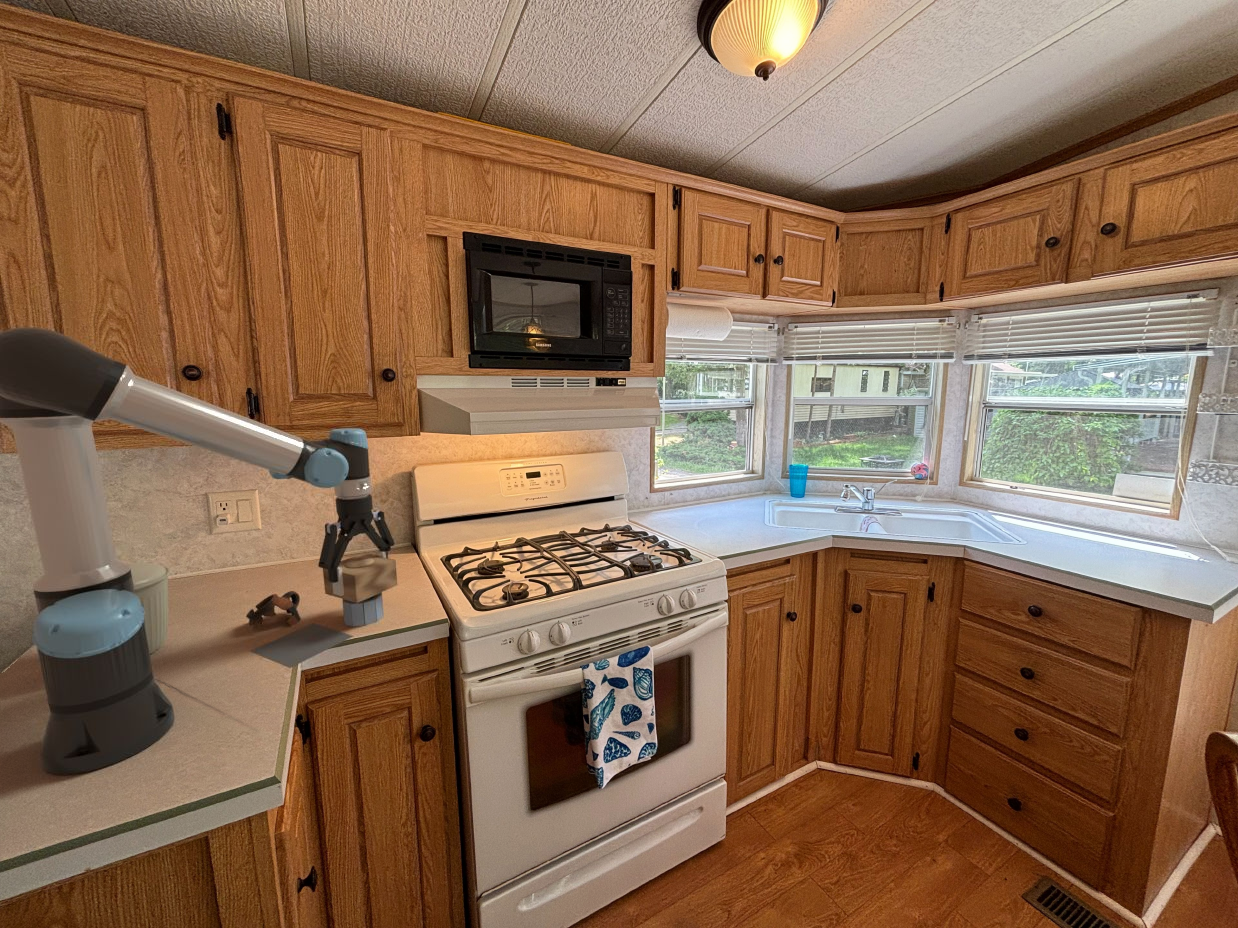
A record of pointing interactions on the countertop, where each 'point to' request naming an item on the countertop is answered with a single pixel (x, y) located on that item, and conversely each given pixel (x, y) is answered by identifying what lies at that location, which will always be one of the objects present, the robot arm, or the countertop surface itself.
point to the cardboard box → (364, 577)
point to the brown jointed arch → (282, 602)
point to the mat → (301, 644)
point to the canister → (152, 599)
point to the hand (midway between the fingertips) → (361, 585)
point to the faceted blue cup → (363, 611)
